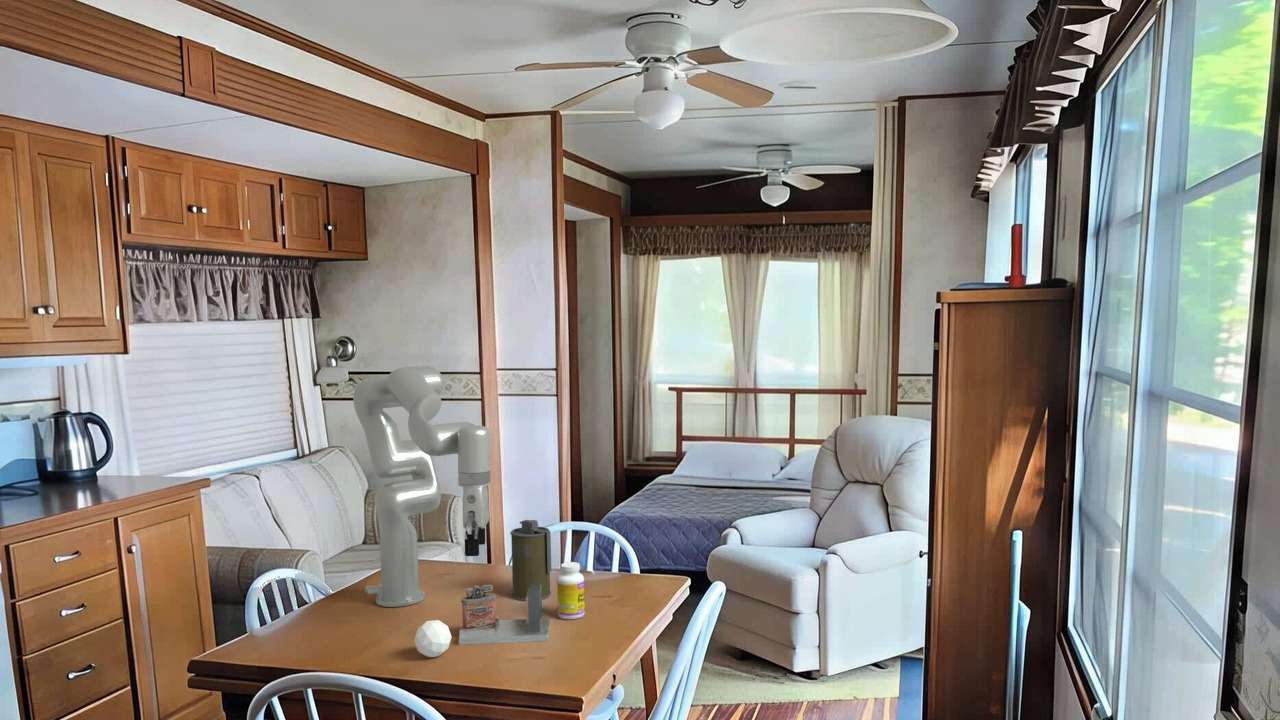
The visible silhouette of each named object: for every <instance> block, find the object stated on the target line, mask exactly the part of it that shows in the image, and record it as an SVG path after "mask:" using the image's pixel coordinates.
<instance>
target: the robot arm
mask: <svg viewBox="0 0 1280 720" xmlns="http://www.w3.org/2000/svg"><path fill="white" fill-rule="evenodd" d="M444 384H445V383H444V378H443V376H442V374H441V372H440V371H439V370H438V369H437V368H436V367H433V366H429V365H425V366H424V365H423V366H422V365H421V366H405V367H403V366H402V367H398V368H396V369H394V370H392V371H391V372H390V373H389V375H388V376H376V377H370V378H366V379H363V380H361V381H359V382H358V383H357V384H356V386H355V387H354V390H353V391H354V392H353V398H352V399H353V401H352V402H353V407H354V412H355V415H356V417H357V418H358V419H357V420H358V421H359V423H360V424H361V427H362V429H363V432H364V434H365V440H366V443H367V444H366V445H367V448H368V452H369V456H370V461H371V465H372V469H373V471H374V474H375V475H376V476H377V477H378V478H379V479H395V478H400V477H402V478H403V477H407V476H411V479H404V480H398V481H393V482H388V483H385V484H383V485H382V486H380V487H379V488H378V489H377V490H376V492H375V494H374V506H375V510H376V515H377V516H376V517H377V521H378V531H379V548H380V550H379V551H380V552H379V553H380V581H381V583H378V584H377V585H372V584H371V585H368V584H367V585H365V593H366V594H367V595H377V596H376V597H375V603H376V604H377V606H381V607H387V608H398V607H399V608H400V607H407V606H411V605H416V604H418V603H420V602H422V601H423V600H425V597H426V594H425V593H426V592H424V591H423V589H422V590H421V589H420V586H419V560H418V559H419V557H418V556H419V555H418V552H419V551H418V533H417V530H416V528H415V526H414V525H413V523H412V522H411V521H410V519H409V517H412V516H416V515H421V514H425V513H430V512H433V511H435V510H436V509H438V507H440V504H441V498H442V496H441V495H442V494H441V488H440V484H439V479H438V475H437V471H436V467H435V463H434V462H435V461H434V459H433V458H434V457H435V458H436V457H441V456H442V457H443V456H448V455H457V471H458V472H457V479H458V481H457V485H458V487H462V525H463V526H462V527H463V528H464V529H465V534H464V556H465V557H479V555H480V546H481V545H483V546H485V544H486V526H487V525H488V523H489V521H490V511H489V509H490V506H489V490H488V486H490V485H491V484H492V483H491V481H492V479H491V478H492V477H491V472H492V471H491V432H490V429H489V428H488V427H487V426H485V425H476V424H473V423H472V422H470V421H469V422H468V421H458V422H450V423H448V422H447V423H439V424H432V423H431V422H430V421H431V420H433V419H434V418H435V417H436V416H437V415H438V414H439V412H440V410H441V408H442V404H443V403H442V399H441V396H440V394H442V392H443V389H444ZM401 407H402V408H403V409H404V410H405V411H406V412H407V413H408V414H409V415H408V421H407V427H408V433H409V436H410V440H402V439H401V437H400V434H399V429H398V425H397V423H396V422H395V420H394V419H393V418H392V416H390V415H389V414H388V412H385V411H384V409H387V408H388V409H391V408H401Z"/></svg>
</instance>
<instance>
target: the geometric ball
mask: <svg viewBox="0 0 1280 720" xmlns="http://www.w3.org/2000/svg"><path fill="white" fill-rule="evenodd" d="M452 638H453V637H452V634H451V631H450V629H449V626H448V625H447V624H445V623H444V622H442V621H440V620H439V619H436V620H434V619H433V620H426V621H425V622H424V623H423V624H422V625H421V626H419V627H418V628H417V629H416V632H415V637H414V644H415V646H416V649H417V652H418V653H420V654H422V656H423V655H424V656H425V657H426V658H437V657H440V656H441V655H442V654H444V652H446V651H447V650H449V649H450V648H449V647H450V644H451V640H452Z"/></svg>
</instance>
